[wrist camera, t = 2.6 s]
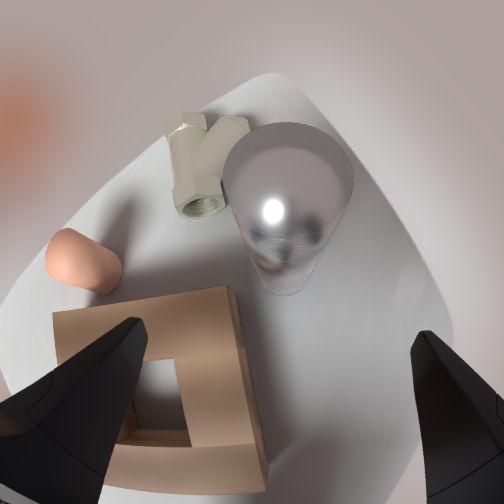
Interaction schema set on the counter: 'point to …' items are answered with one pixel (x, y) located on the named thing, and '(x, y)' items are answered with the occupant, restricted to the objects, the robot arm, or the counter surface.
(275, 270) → the tall metal pin
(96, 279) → the short terracotta pin
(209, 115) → the counter surface
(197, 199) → the pipe fitting
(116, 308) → the walnut block
